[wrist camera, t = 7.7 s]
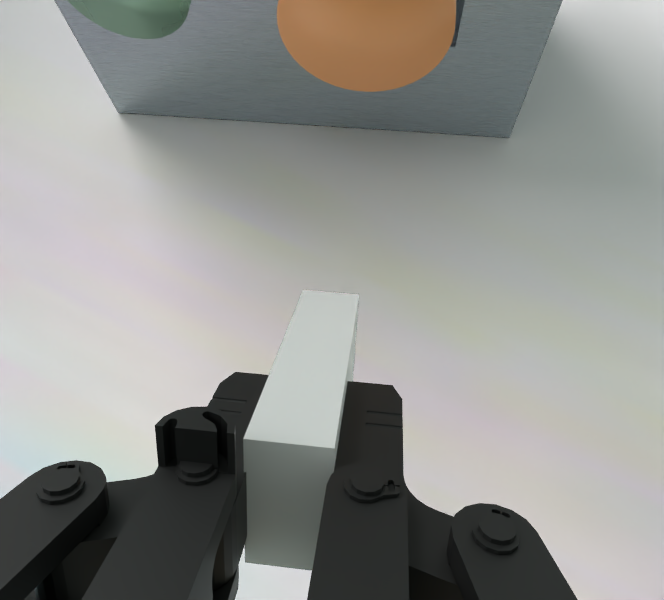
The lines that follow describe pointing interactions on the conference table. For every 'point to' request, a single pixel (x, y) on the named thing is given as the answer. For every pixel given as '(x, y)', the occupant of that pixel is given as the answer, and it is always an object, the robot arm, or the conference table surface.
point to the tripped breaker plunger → (367, 39)
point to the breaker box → (293, 80)
